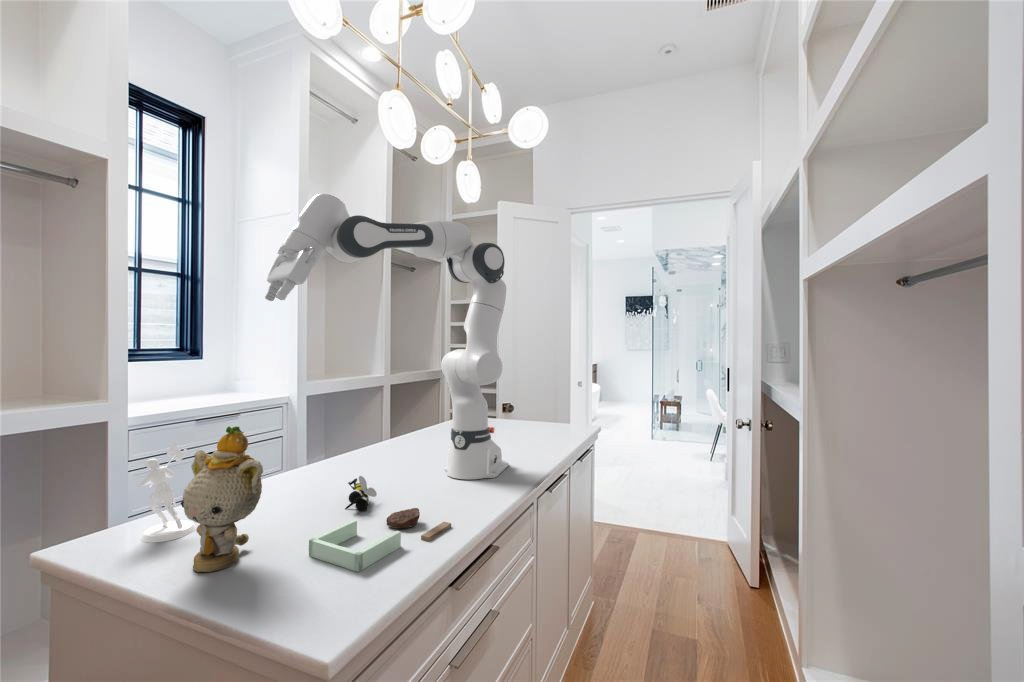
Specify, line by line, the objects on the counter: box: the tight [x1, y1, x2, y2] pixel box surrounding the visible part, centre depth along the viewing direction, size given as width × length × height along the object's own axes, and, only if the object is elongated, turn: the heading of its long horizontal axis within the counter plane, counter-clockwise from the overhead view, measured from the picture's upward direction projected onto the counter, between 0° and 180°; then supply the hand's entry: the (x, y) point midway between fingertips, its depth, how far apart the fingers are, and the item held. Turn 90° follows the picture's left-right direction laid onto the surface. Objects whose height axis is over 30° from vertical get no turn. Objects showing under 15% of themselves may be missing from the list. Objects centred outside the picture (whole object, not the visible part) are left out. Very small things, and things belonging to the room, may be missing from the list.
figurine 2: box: [180, 426, 264, 573], centre depth 81 cm, size 11×18×25 cm, turn 61°
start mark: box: [420, 521, 452, 542], centre depth 94 cm, size 8×2×1 cm, turn 153°
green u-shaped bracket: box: [308, 519, 402, 573], centre depth 86 cm, size 11×13×3 cm
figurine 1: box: [137, 443, 197, 544], centre depth 94 cm, size 10×10×18 cm
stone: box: [385, 507, 420, 530], centre depth 98 cm, size 7×7×3 cm
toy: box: [344, 475, 377, 512], centre depth 111 cm, size 7×8×15 cm
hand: (273, 299), depth 104 cm, fingers open, 8 cm apart
